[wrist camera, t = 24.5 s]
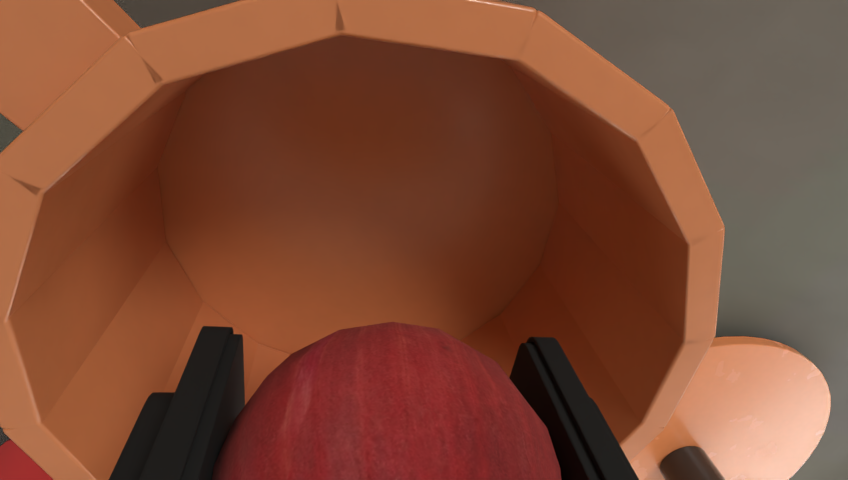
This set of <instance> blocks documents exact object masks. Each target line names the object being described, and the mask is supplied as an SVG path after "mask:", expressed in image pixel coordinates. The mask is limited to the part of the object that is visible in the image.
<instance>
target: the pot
mask: <svg viewBox="0 0 848 480" xmlns="http://www.w3.org/2000/svg"><path fill="white" fill-rule="evenodd" d="M0 113H1V114H2V115H3V116H5V117H6V118H7V119H8V120H10V121H11V122H12V123H13V124H15V125H16V126H17V127H18V128H20V129H21V130H22V131H23V132H22V133H21V134H20V135H19V136H18V137H17V138H16V139H15V140H13V141H12V142H11V143H10V144H9V145H8V146H7V147H6V148H5V149H4V150H3V151H2V152H1V153H0V427H1V428H3V432H4V433H5V434H6V435H7V436H8V437H9V438H10V439H11V440H12V441H13V442H14V443H15V444H16V445H17V446H18V447H19V448H20V449H22V450H23V451H24V452H25V453H26V454H27V455H28V456H29V457H30V458H31V459H32V460H33V461H34V462H35V463H36V464H37V465H38V466H40V467H41V468H42V469H43V470H44V471H45V472H46V473H47V474H48V475H49V476H50V477H51V478H52V479H53V480H109V478H110V476H111V474H112V472H113V469H114V467H115V465H116V463H117V461H118V459H119V457H120V455H121V452H122V450H123V448H124V446H125V444H126V442H127V440H128V438H129V435H130V433H131V431H132V429H133V427H134V425H135V423H136V421H137V419H138V416H139V414H140V412H141V410H142V408H143V406H144V404H145V402H146V400H147V398H148V397H149V395H151V394H152V393H153V392H175V391H176V389H177V386H178V384H179V381H180V379H181V376H182V374H183V372H184V369H185V367H186V364H187V362H188V359H189V357H190V355H191V352H192V350H193V347H194V345H195V342H196V340H197V338H198V335H199V333H200V330H201V329H202V327H203V326H218V327H232V328H233V332H234V334H242V335H243V353H244V387H245V405H246V404H247V402H248V401H249V400H250V398H251V397H252V396H253V394H254V393H255V391H256V390H257V389H258V387H259V386H260V385H261V383H262V382H263V381H264V379H265V378H266V377H267V375H269V374H270V373H271V372H272V371H273V370H274V369H275V368H276V367H278V366H279V365H280V364H281V363H282V362H283V361H284V360H285V359H286V358H288V357H289V356H290V355H291V354H292V353H294V352H296V351H298V350H300V349H302V348H304V347H306V346H308V345H310V344H312V343H314V342H316V341H318V340H320V339H322V338H324V337H326V336H328V335H330V334H332V333H334V332H336V331H338V330H341V329H347V328H354V327H361V326H367V325H374V324H381V323H387V322H398V323H405V324H411V325H418V326H425V327H431V328H438V329H441V330H442V331H444V332H446V333H448V334H449V335H451V336H453V337H454V338H456V339H458V340H460V341H461V342H463V343H465V344H467V345H468V346H470V347H472V348H473V349H475V350H477V351H479V352H480V353H482V354H484V355H485V356H487V357H489V358H491V359H492V360H494V361H496V362H498V364H499V365H500V366H501V368H502V369H503V370H504V372H505V373H506V374H507V376H508V377H510V374H511V371H512V368H513V365H514V361H515V358H516V355H517V352H518V349H519V346H520V344H521V343H526V342H527V340H528V338H529V337H553V338H555V339H556V340H557V341H558V342H559V344H560V346H561V348H562V349H563V351H564V353H565V355H566V357H567V358H568V360H569V362H570V364H571V365H572V367H573V369H574V371H575V373H576V374H577V376H578V378H579V380H580V382H581V383H582V385H583V387H584V389H585V390H586V392H587V394H588V396H589V397H590V398H592V399H593V400H594V402H595V403H596V404H597V406H598V408H599V410H600V411H601V413H602V415H603V417H604V418H605V420H606V422H607V424H608V425H609V427H610V429H611V431H612V433H613V434H614V436H615V438H616V440H617V441H618V443H619V445H620V447H621V448H622V450H623V452H624V454H625V455H626V457H627V459H628V461H630V460H631V459H632V458H633V457H634V456H636V455H637V454H638V453H639V452H640V451H641V450H642V449H643V448H644V447H645V446H646V445H647V444H649V443H650V442H651V441H652V440H653V439H654V438H655V437H656V436H657V435H658V434H659V433H660V432H661V431H663V430H664V427H665V426H666V425H667V423H668V421H669V420H670V418H671V416H672V414H673V412H674V411H675V409H676V407H677V405H678V403H679V402H680V400H681V398H682V396H683V394H684V392H685V391H686V389H687V387H688V385H689V383H690V382H691V380H692V378H693V376H694V374H695V372H696V371H697V369H698V367H699V365H700V363H701V362H702V360H703V358H704V356H705V354H706V353H707V351H708V349H709V347H710V345H711V343H712V342H713V338H714V337H715V335H716V324H717V313H718V302H719V290H720V279H721V268H722V257H723V245H724V234H725V229H724V227H725V226H724V224H723V222H722V219H721V217H720V215H719V213H718V210H717V208H716V206H715V204H714V201H713V199H712V197H711V195H710V192H709V190H708V188H707V186H706V183H705V181H704V179H703V177H702V174H701V172H700V170H699V168H698V165H697V163H696V161H695V158H694V156H693V154H692V152H691V149H690V147H689V145H688V143H687V140H686V138H685V136H684V134H683V131H682V129H681V127H680V125H679V122H678V120H677V118H676V116H675V113H674V111H673V110H672V109H671V108H669V106H668V105H667V104H666V103H665V102H663V101H662V100H661V99H659V98H658V97H656V96H655V95H654V94H652V93H651V92H650V91H648V90H647V89H646V88H644V87H643V86H642V85H640V84H639V83H638V82H636V81H635V80H633V79H632V78H631V77H629V76H628V75H627V74H625V73H624V72H623V71H621V70H620V69H619V68H617V67H616V66H615V65H613V64H612V63H610V62H609V61H608V60H606V59H605V58H604V57H602V56H601V55H600V54H598V53H597V52H596V51H594V50H593V49H591V48H590V47H589V46H587V45H586V44H585V43H583V42H582V41H581V40H579V39H578V38H577V37H575V36H574V35H573V34H571V33H570V32H568V31H567V30H566V29H564V28H563V27H562V26H560V25H559V24H558V23H556V22H555V21H554V20H552V19H551V18H550V17H548V16H547V15H545V14H544V13H543V12H541V11H538V10H536V9H534V8H532V7H528V6H523V5H518V4H513V3H508V2H504V1H499V0H240V1H236V2H233V3H229V4H226V5H222V6H219V7H215V8H212V9H208V10H205V11H201V12H198V13H194V14H191V15H187V16H184V17H180V18H176V19H173V20H169V21H166V22H162V23H159V24H155V25H152V26H148V27H145V28H140V27H139V26H138V25H137V24H136V23H135V22H134V21H133V20H132V19H131V18H130V17H129V16H128V15H127V14H126V13H125V12H124V11H123V10H122V9H121V8H120V7H119V6H118V5H117V4H116V3H115V2H114V1H113V0H0Z"/></svg>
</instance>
